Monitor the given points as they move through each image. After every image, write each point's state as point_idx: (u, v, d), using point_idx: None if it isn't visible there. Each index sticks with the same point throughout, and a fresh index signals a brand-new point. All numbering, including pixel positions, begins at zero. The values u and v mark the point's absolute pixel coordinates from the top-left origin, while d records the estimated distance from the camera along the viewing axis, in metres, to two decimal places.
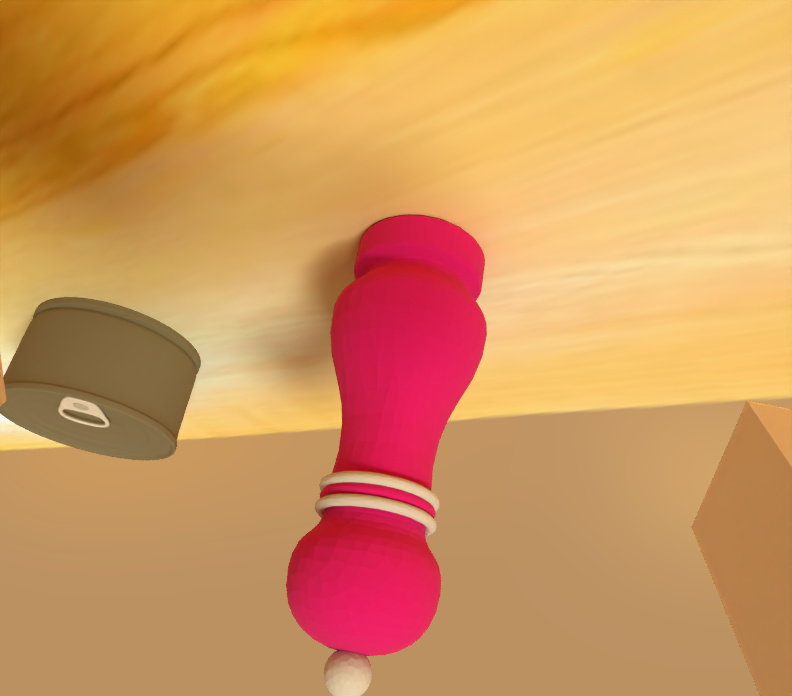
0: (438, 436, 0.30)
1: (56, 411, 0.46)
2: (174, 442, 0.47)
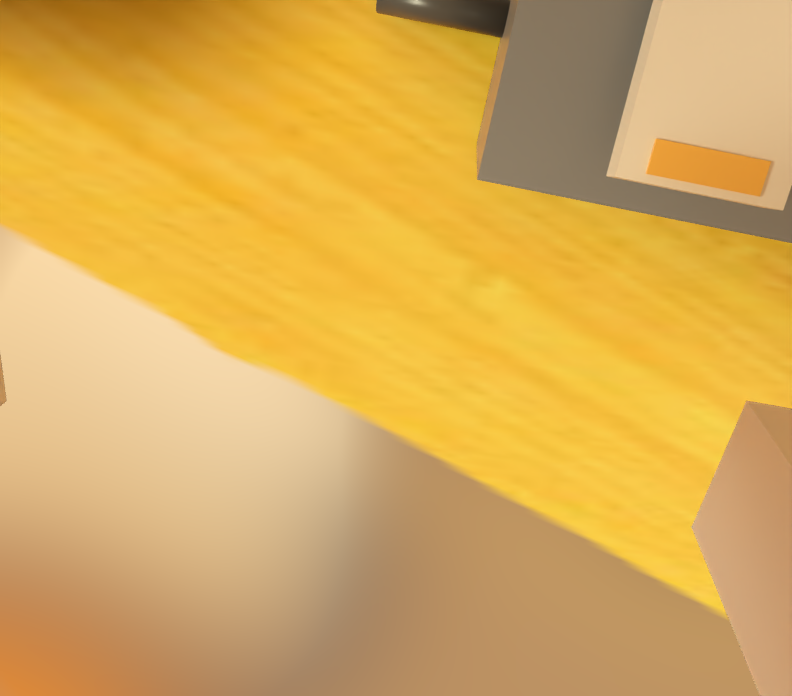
0: None
1: None
2: None
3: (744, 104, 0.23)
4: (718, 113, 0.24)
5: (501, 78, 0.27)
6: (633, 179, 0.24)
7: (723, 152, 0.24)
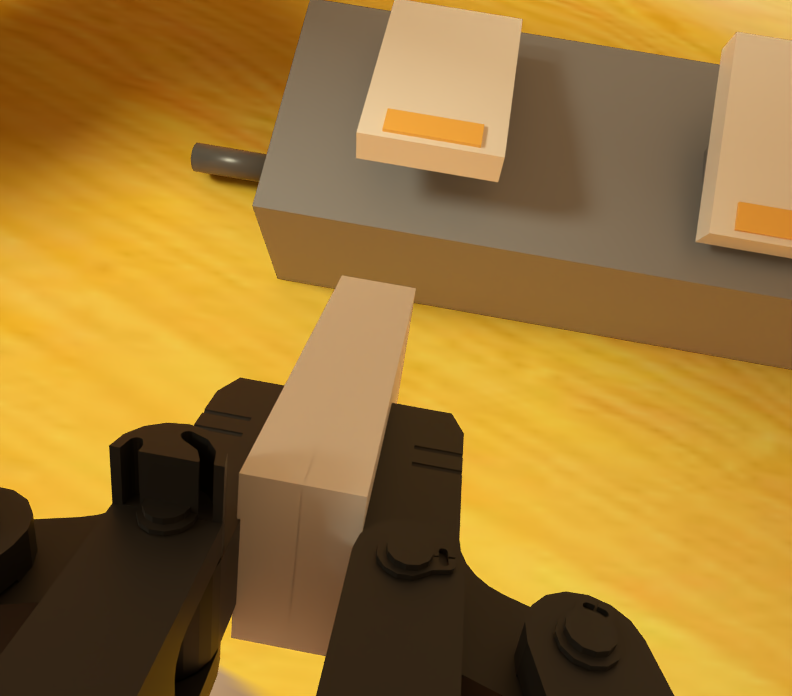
0: None
1: None
2: None
3: (455, 94, 0.29)
4: (435, 98, 0.29)
5: (274, 131, 0.32)
6: (372, 134, 0.28)
7: (444, 119, 0.28)
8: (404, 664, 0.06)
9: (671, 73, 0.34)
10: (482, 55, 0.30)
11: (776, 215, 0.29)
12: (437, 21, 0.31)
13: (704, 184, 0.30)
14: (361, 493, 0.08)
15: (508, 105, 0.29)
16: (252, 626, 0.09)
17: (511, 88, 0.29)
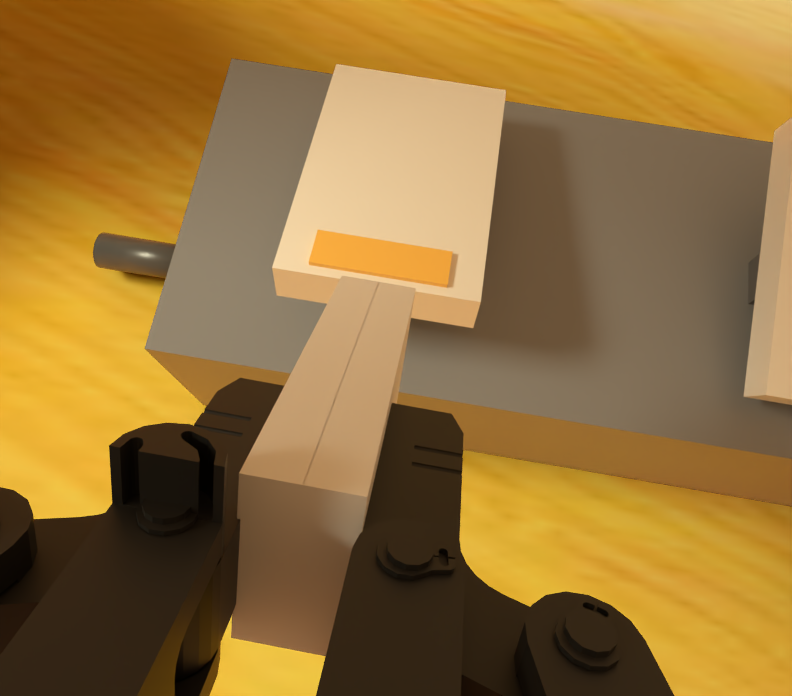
0: None
1: None
2: None
3: (412, 205, 0.21)
4: (385, 212, 0.21)
5: (178, 242, 0.24)
6: (294, 270, 0.20)
7: (397, 244, 0.20)
8: (404, 664, 0.06)
9: (702, 153, 0.26)
10: (451, 144, 0.22)
11: None
12: (392, 96, 0.23)
13: (754, 317, 0.22)
14: (361, 494, 0.08)
15: (486, 219, 0.21)
16: (252, 626, 0.09)
17: (490, 193, 0.21)
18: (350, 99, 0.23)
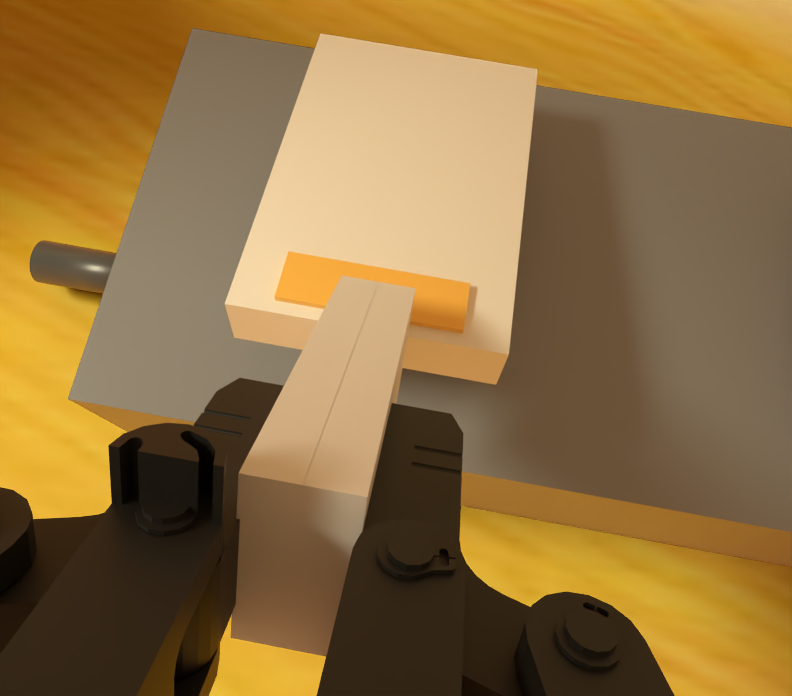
0: None
1: None
2: None
3: (417, 218, 0.16)
4: (381, 227, 0.16)
5: (116, 259, 0.19)
6: (255, 308, 0.14)
7: (395, 272, 0.15)
8: (405, 664, 0.06)
9: (780, 153, 0.21)
10: (467, 138, 0.17)
11: None
12: (391, 74, 0.18)
13: None
14: (361, 493, 0.08)
15: (515, 239, 0.16)
16: (252, 625, 0.09)
17: (519, 204, 0.16)
18: (337, 78, 0.18)
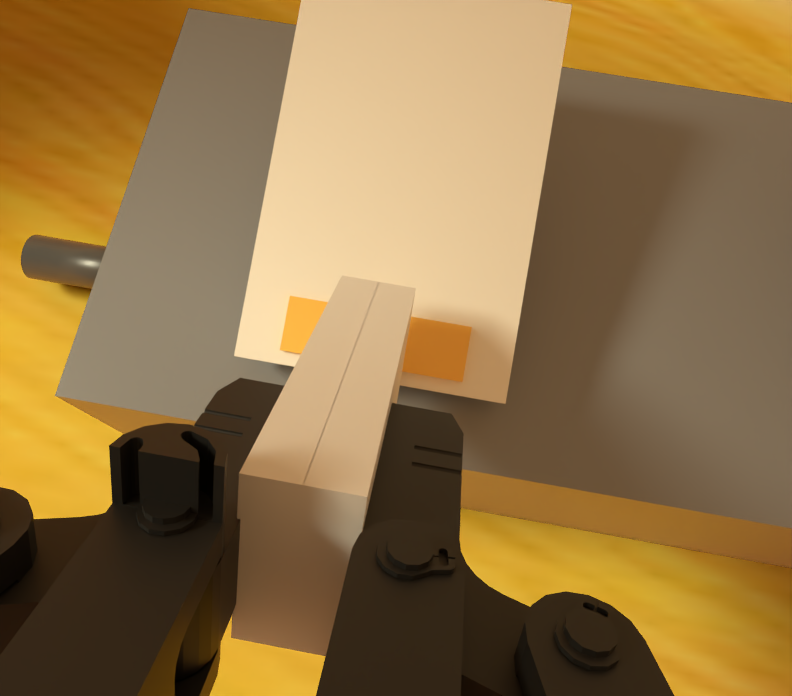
0: None
1: None
2: None
3: (420, 243, 0.15)
4: (382, 256, 0.15)
5: (108, 248, 0.18)
6: (263, 359, 0.15)
7: None
8: (404, 664, 0.06)
9: None
10: (480, 125, 0.15)
11: None
12: (393, 27, 0.15)
13: None
14: (361, 494, 0.08)
15: (523, 265, 0.15)
16: (252, 626, 0.09)
17: (531, 217, 0.15)
18: (330, 40, 0.15)
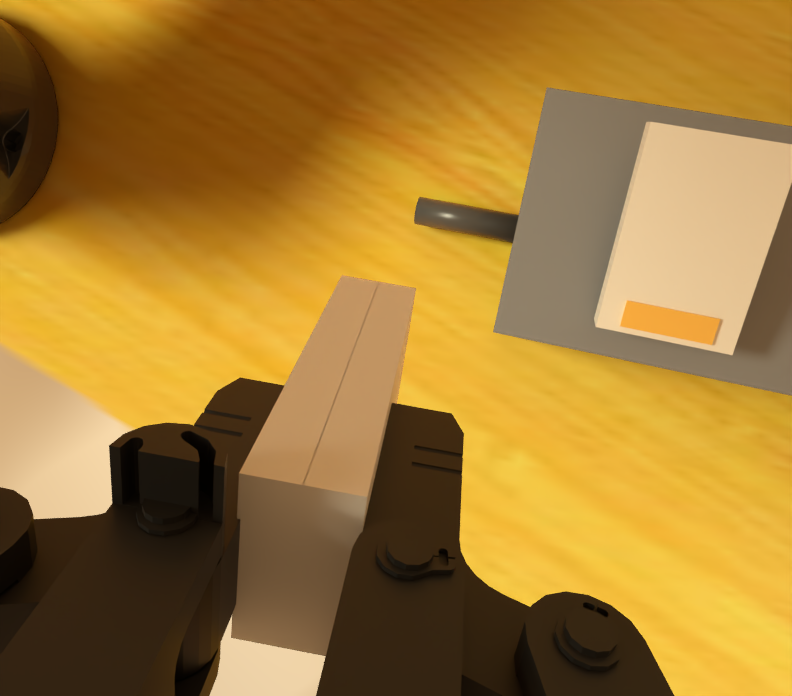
0: None
1: None
2: None
3: (697, 276, 0.30)
4: (676, 282, 0.30)
5: (511, 251, 0.34)
6: (610, 329, 0.31)
7: (681, 311, 0.30)
8: (404, 664, 0.06)
9: None
10: (739, 214, 0.29)
11: None
12: (696, 159, 0.28)
13: None
14: (361, 494, 0.08)
15: (751, 289, 0.30)
16: (252, 626, 0.09)
17: (760, 265, 0.29)
18: (659, 166, 0.29)
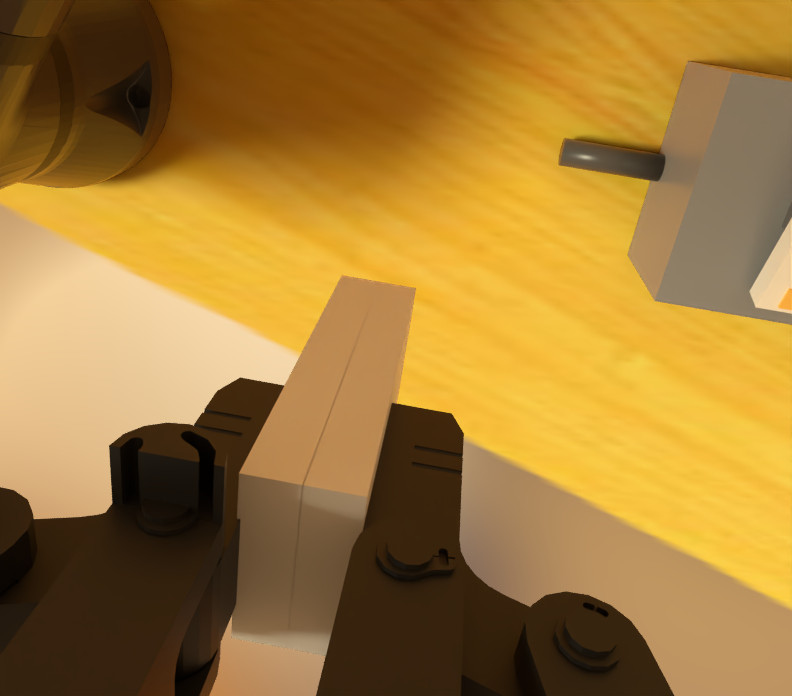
0: None
1: None
2: None
3: None
4: None
5: (678, 231, 0.37)
6: (768, 308, 0.36)
7: None
8: (404, 664, 0.06)
9: None
10: None
11: None
12: None
13: None
14: (361, 494, 0.08)
15: None
16: (252, 626, 0.09)
17: None
18: None
